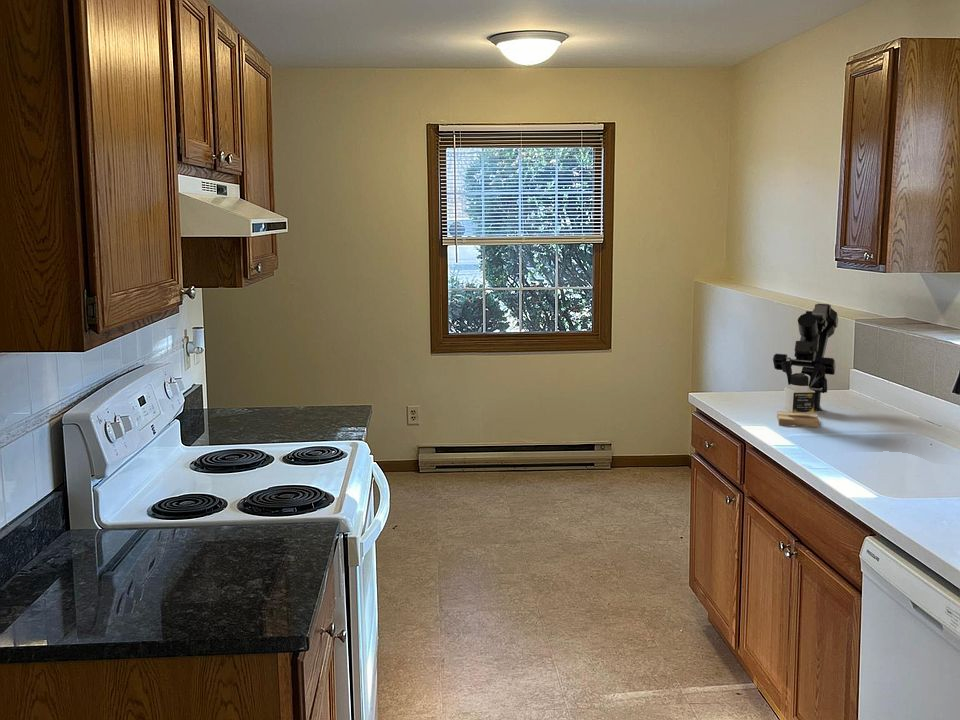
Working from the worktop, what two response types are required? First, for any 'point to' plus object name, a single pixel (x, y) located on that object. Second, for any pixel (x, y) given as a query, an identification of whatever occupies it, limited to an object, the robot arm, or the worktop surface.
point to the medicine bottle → (799, 395)
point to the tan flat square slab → (797, 419)
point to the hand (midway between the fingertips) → (799, 385)
